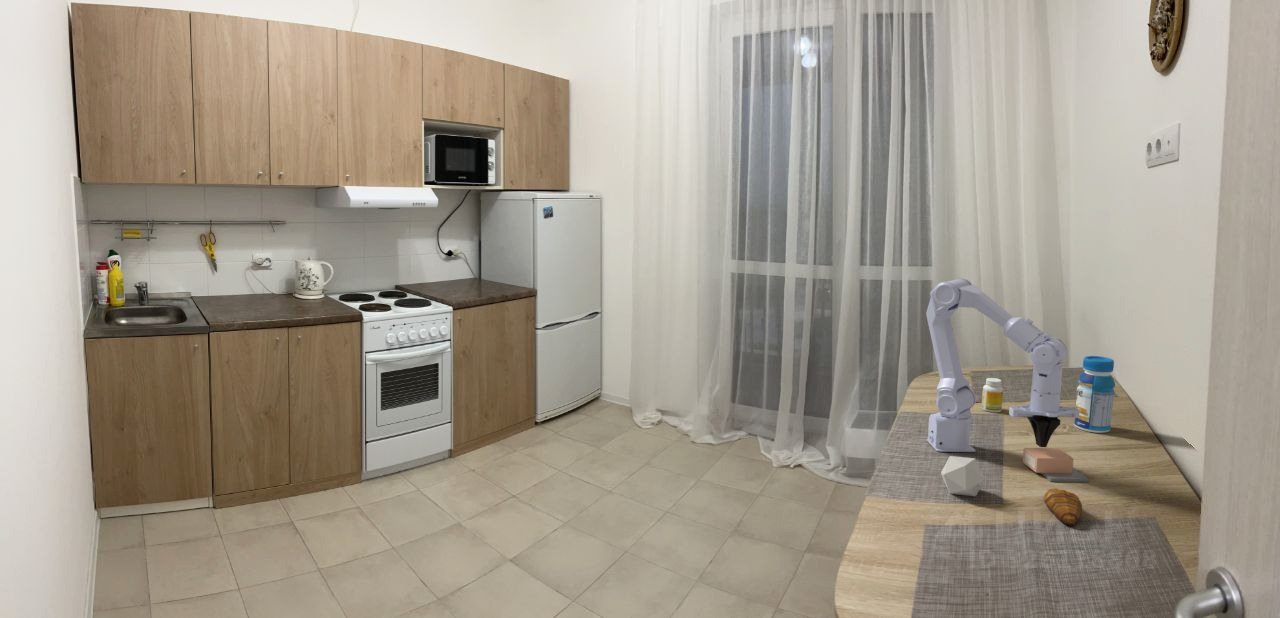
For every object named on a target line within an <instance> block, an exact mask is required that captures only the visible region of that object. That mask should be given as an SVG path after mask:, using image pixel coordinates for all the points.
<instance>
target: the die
mask: <svg viewBox="0 0 1280 618" xmlns="http://www.w3.org/2000/svg"><path fill="white" fill-rule="evenodd" d="M977 461H978V460H977V459H976V458H975V457H974V458H973V457H972V458H971V457H964V456H955V455H953V456H951V455H950V456H949V457H948V459H947V460H946V462H945V465H944V466H943V468H942V469H941V472H940V475H941V477H942V479H943V481H944V484H945V486H946V488H947V490H948V493H949V495H958V496H959V495H961V496H967V497H977V494H978V492H979V491H980V489H981V487H982V486H983V484H984V483H985V481H986V477H985V475H984V473H983V471H982V469H981V467H980V465H979V463H978V462H977Z"/></svg>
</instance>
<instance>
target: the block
mask: <svg viewBox="0 0 1280 618" xmlns="http://www.w3.org/2000/svg"><path fill="white" fill-rule="evenodd" d="M1074 461H1075V460H1074V457H1072V456H1071V455H1070V454H1068V453H1066V452H1065V451H1063V450H1062V449H1061V448H1059V447H1023V452H1022V463H1023V464H1024V465H1026V466H1027V467H1028V468H1030V469H1031V470H1032V471H1033V472H1034V473H1036V474H1037V473H1038V474H1041V473H1072V470H1073V468H1074Z"/></svg>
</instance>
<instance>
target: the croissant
mask: <svg viewBox="0 0 1280 618" xmlns="http://www.w3.org/2000/svg"><path fill="white" fill-rule="evenodd" d="M1043 502H1044V503H1045V505H1046V507H1047V509H1048V510H1049V512H1051V513H1052V514H1054V516H1055V518H1056V519H1058V521H1060V522H1061V523H1063V525H1064V524H1065V525H1066V526H1069V527H1072V526H1073V527H1074V526H1075V524H1076V523H1077V521H1078V519H1079V518H1080V517H1081V511H1082V510H1083V504H1082V502H1081V500H1080V498H1079V496H1078V495H1076V494H1075V493H1073V492H1070V491H1067V490H1065V489H1060V488H1059V489H1058V488H1050V489H1048V490H1047V491H1046V493H1045V494H1044V496H1043Z"/></svg>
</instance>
